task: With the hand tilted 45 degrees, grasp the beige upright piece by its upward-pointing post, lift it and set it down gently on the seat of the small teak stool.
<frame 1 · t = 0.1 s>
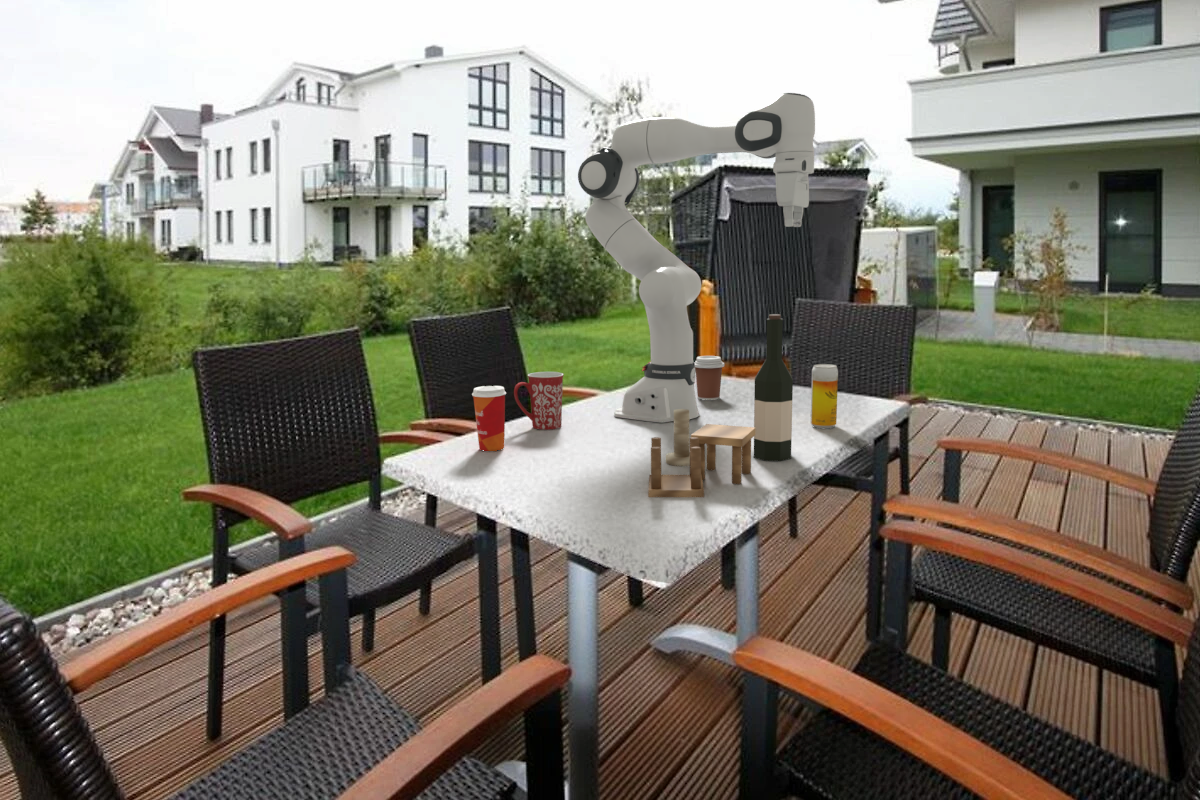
hand: (793, 226, 192), 48 cm above the table, tool pointing down, fingers open, 8 cm apart
coffee cup: (708, 398, 236), on the table
mug: (540, 428, 204), on the table
paper cup: (491, 449, 184), on the table
beer can: (823, 427, 198), on the table
stool: (723, 475, 158), on the table
wine bottle: (772, 457, 172), on the table
upturned stool: (675, 489, 151), on the table
beige upright piece: (681, 462, 169), on the table
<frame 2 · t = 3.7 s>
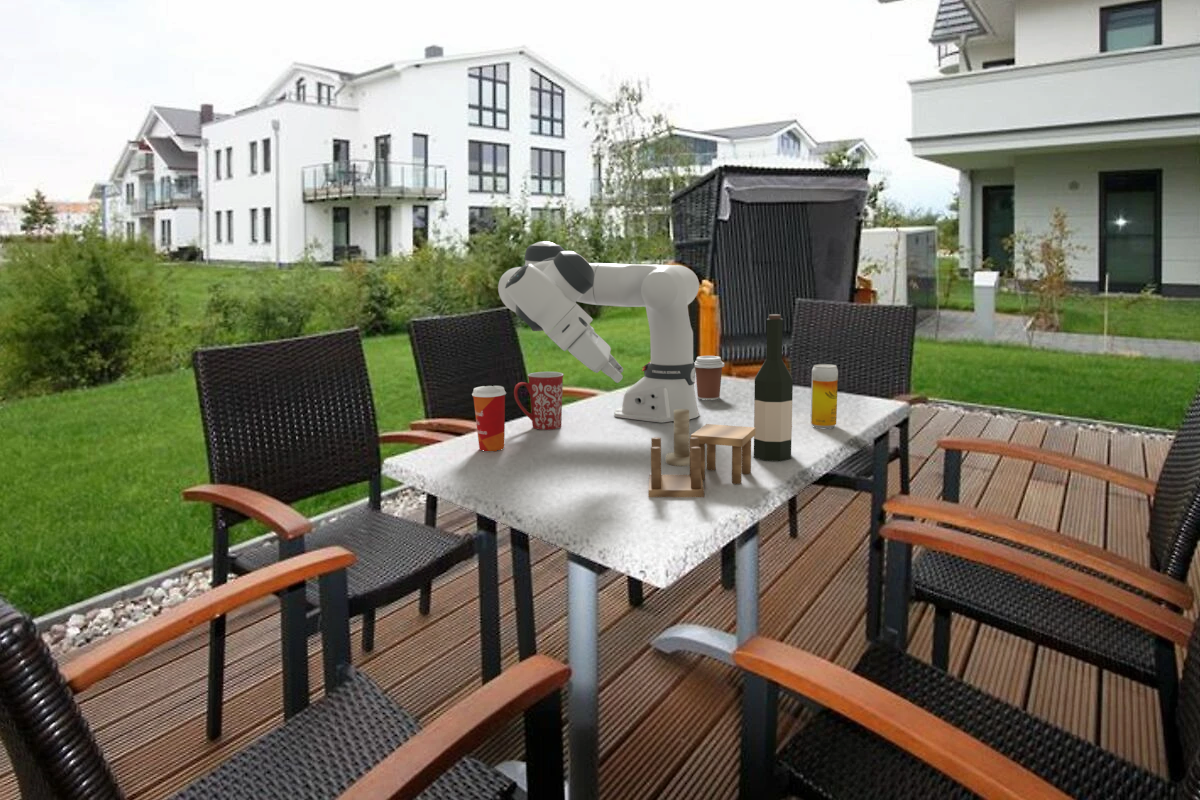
hand: (620, 376, 166), 18 cm above the table, tool tilted 45°, fingers open, 8 cm apart
nothing on the table moved.
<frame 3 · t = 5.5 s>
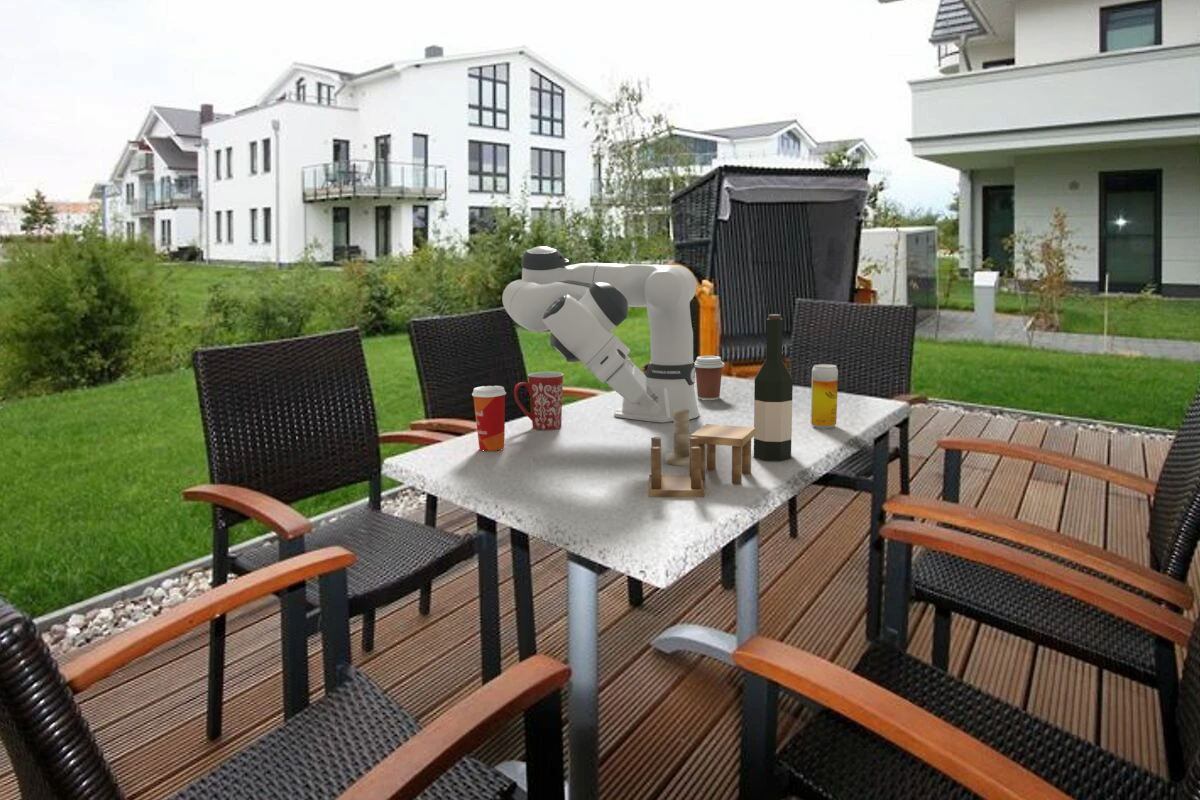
hand: (657, 406, 166), 12 cm above the table, tool tilted 45°, fingers open, 8 cm apart
nothing on the table moved.
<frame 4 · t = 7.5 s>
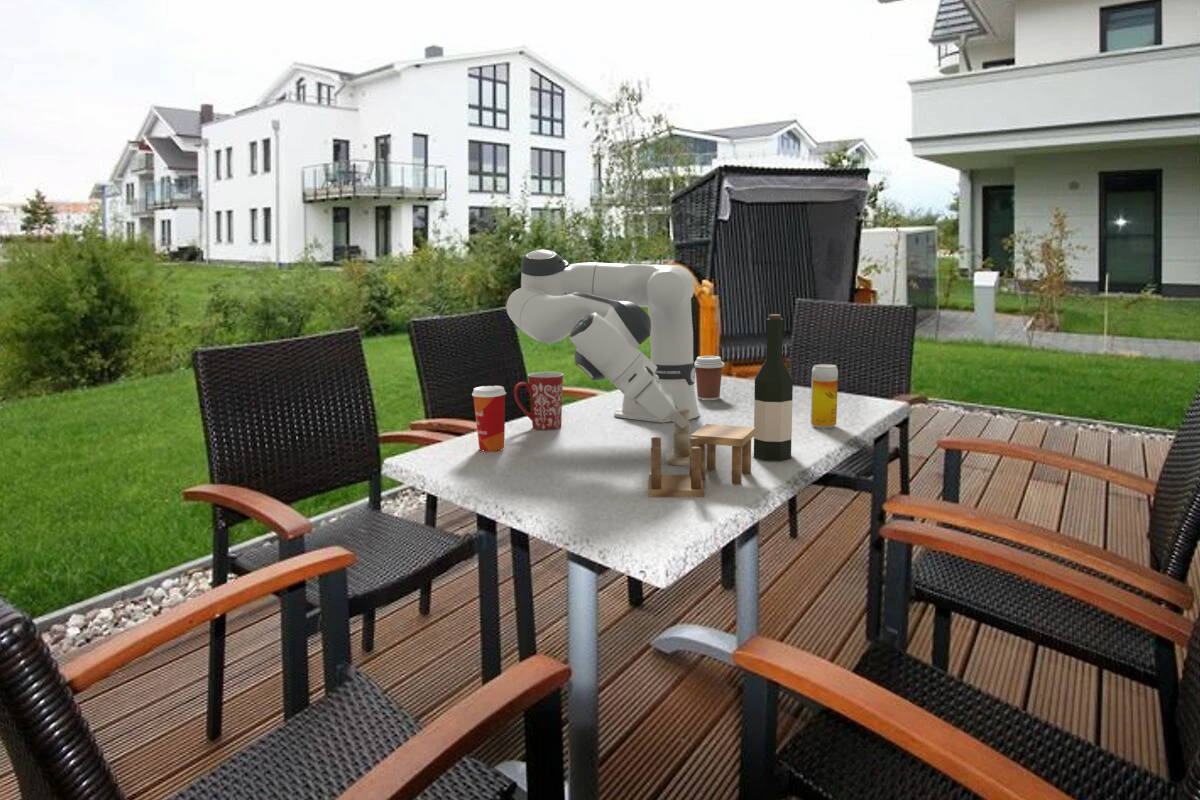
hand: (684, 422, 168), 8 cm above the table, tool tilted 45°, fingers closed on beige upright piece, 3 cm apart
beige upright piece: (681, 461, 169), on the table, touching gripper
everything else where it was.
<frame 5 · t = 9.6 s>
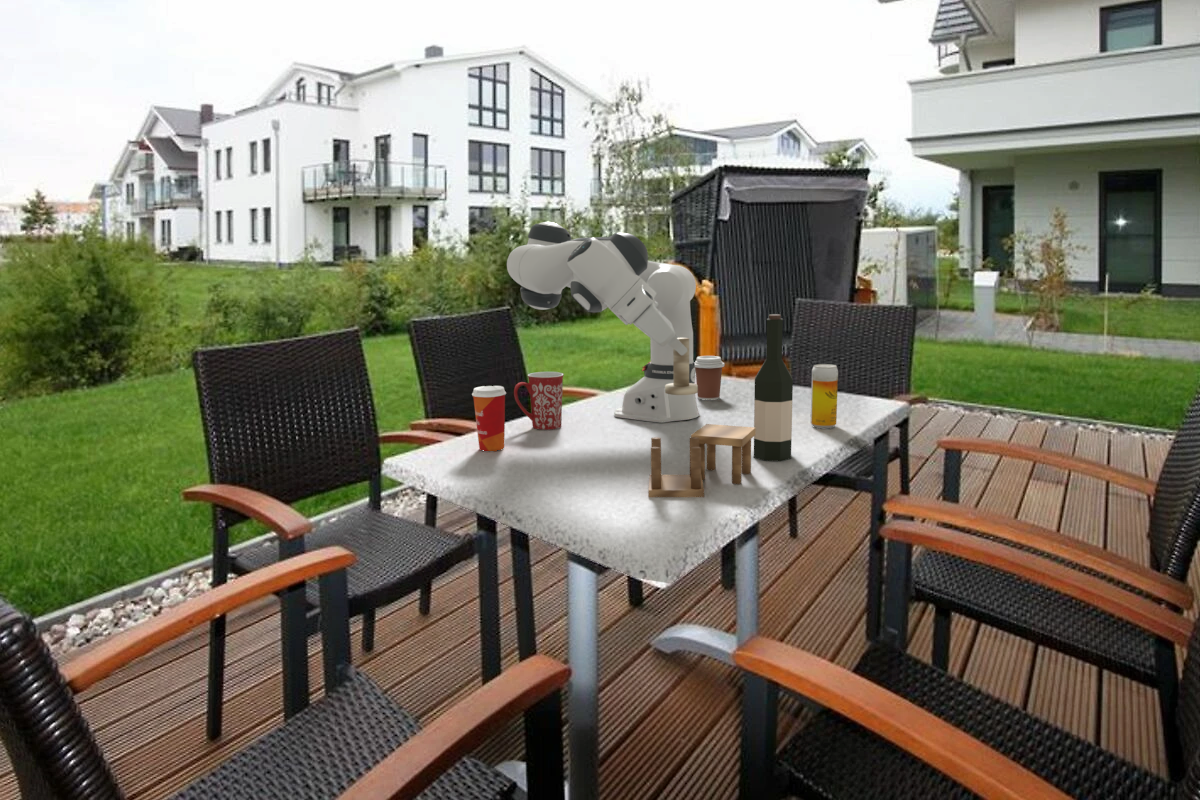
hand: (684, 351, 164), 23 cm above the table, tool tilted 45°, fingers closed on beige upright piece, 3 cm apart
beige upright piece: (681, 392, 166), point 15 cm above the table, touching gripper
everything else where it was.
when the fingers open (19 cm above the table, at t = 11.8 s): beige upright piece drops 1 cm, resting on stool.
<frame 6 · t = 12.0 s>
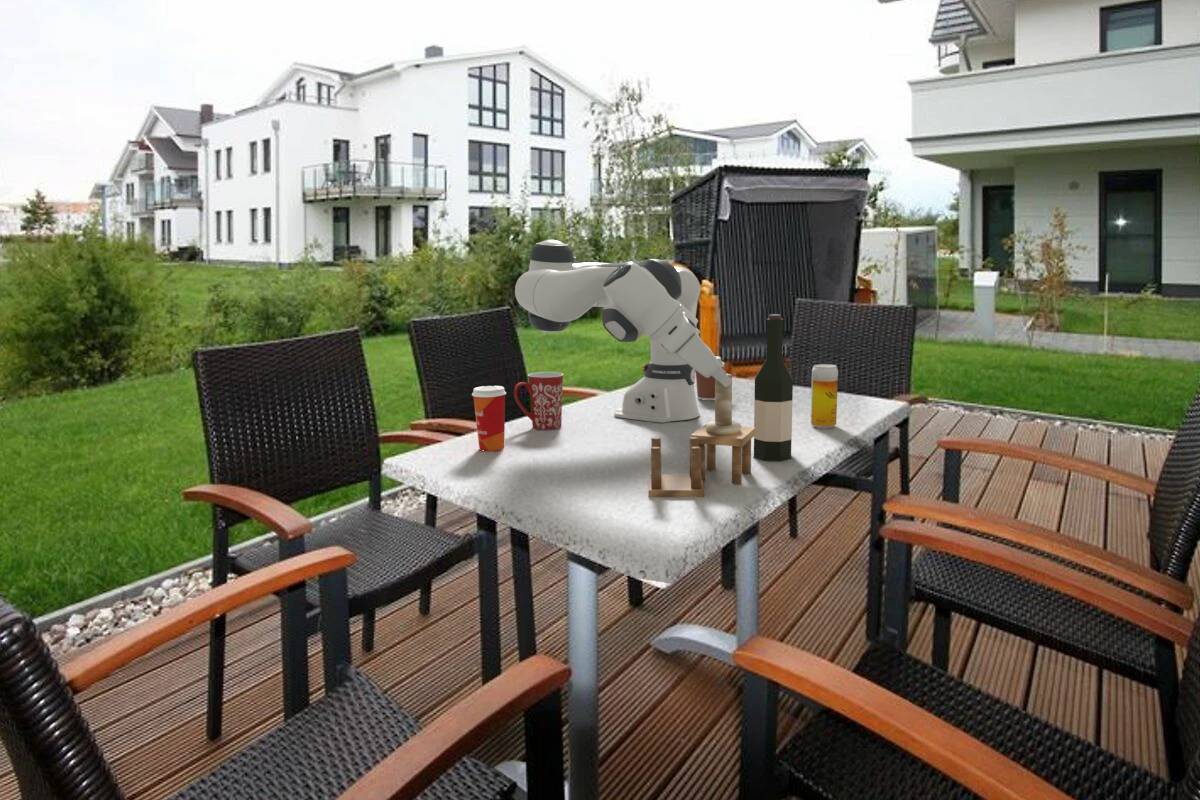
hand: (727, 381, 155), 19 cm above the table, tool tilted 45°, fingers open, 5 cm apart
beige upright piece: (723, 431, 157), point 9 cm above the table, touching stool
everything else where it was.
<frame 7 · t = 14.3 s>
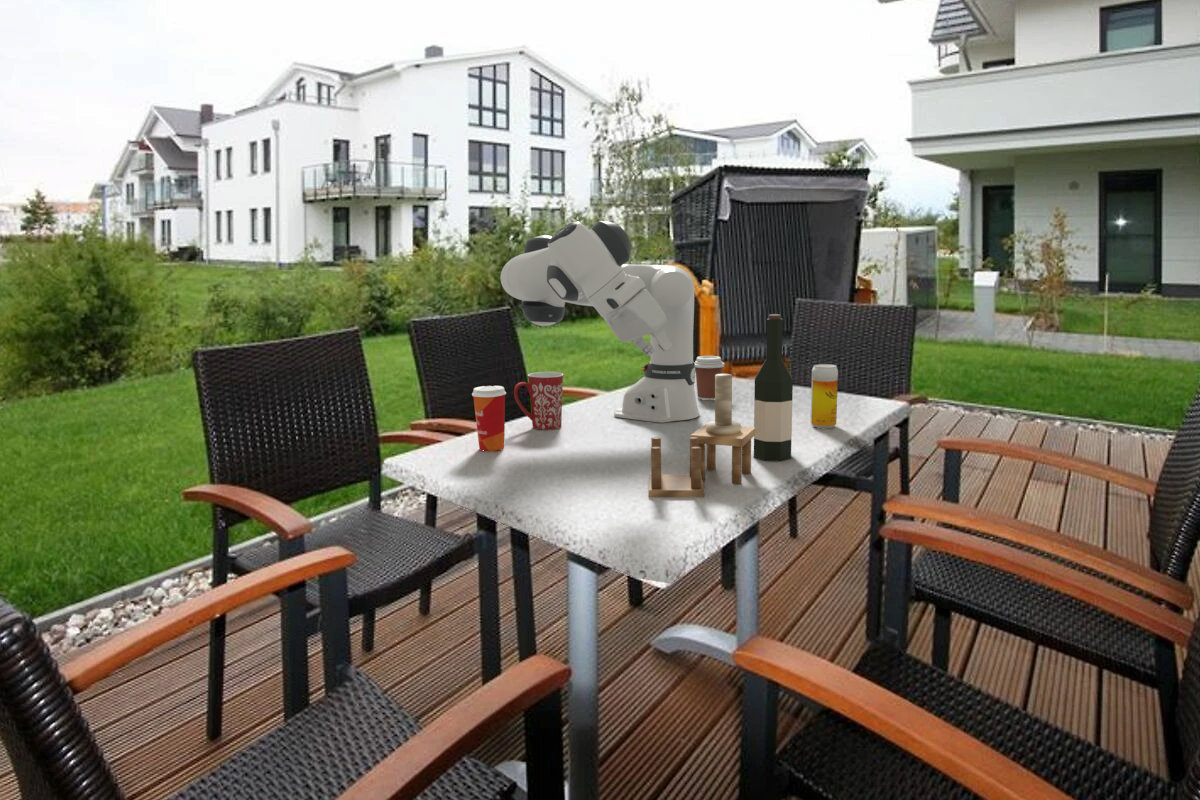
hand: (659, 351, 157), 24 cm above the table, tool tilted 40°, fingers open, 8 cm apart
nothing on the table moved.
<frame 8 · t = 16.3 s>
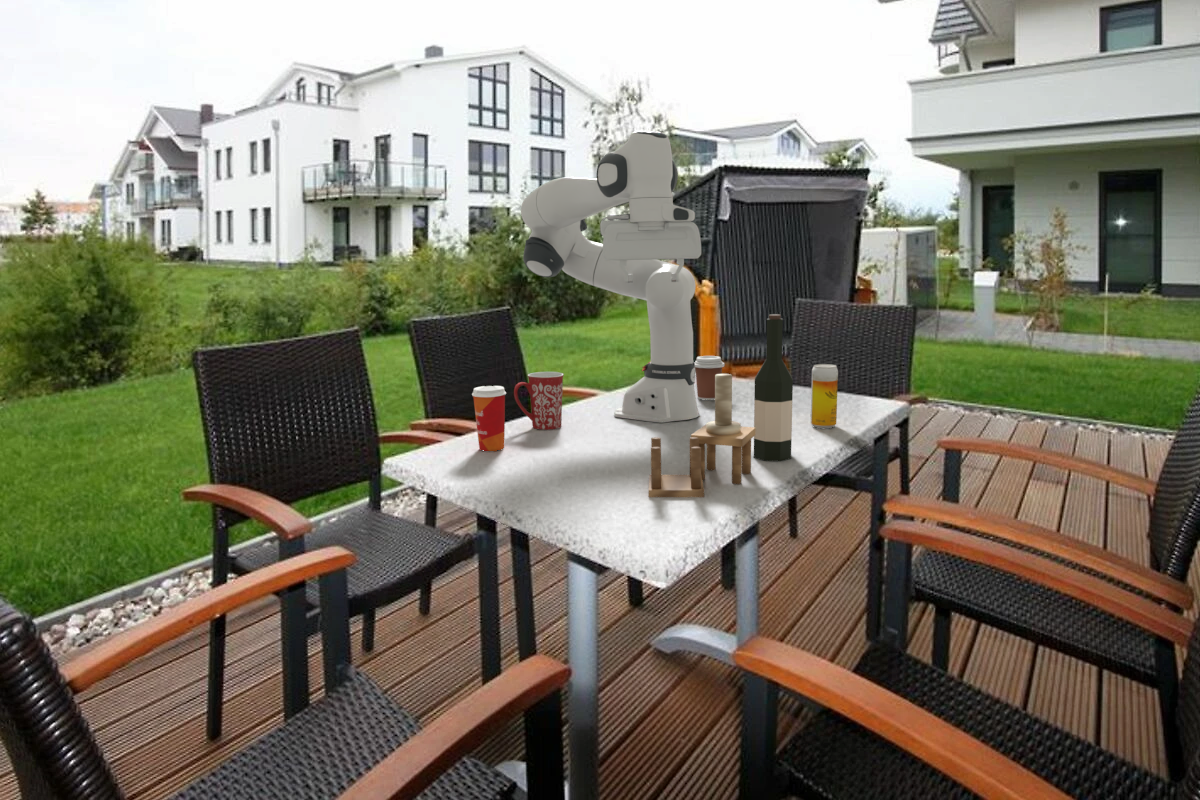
hand: (652, 282, 167), 37 cm above the table, tool pointing down, fingers open, 8 cm apart
nothing on the table moved.
at the end: beige upright piece inside the target area on the stool (0.1 cm from its centre), point 9.0 cm above the stool's base; beige upright piece tilted 0°; the gripper is holding nothing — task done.
